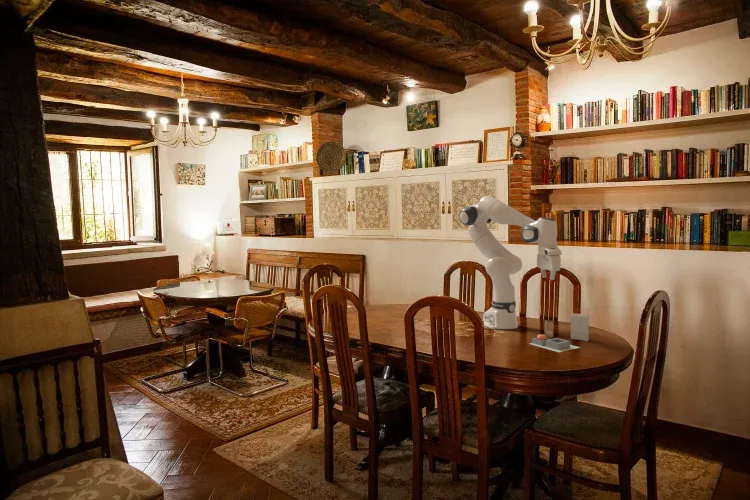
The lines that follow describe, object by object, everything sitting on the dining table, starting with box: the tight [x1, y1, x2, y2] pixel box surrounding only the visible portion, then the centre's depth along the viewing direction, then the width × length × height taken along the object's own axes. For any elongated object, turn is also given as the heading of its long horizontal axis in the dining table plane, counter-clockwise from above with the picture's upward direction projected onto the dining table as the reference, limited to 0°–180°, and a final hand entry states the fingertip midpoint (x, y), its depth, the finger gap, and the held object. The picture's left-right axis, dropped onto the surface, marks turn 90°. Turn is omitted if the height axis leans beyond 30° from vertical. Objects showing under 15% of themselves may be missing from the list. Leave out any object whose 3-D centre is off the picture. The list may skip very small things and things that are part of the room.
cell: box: [544, 319, 554, 339], centre depth 257 cm, size 4×4×10 cm
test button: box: [536, 333, 547, 341], centre depth 244 cm, size 4×4×2 cm
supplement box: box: [570, 313, 590, 342], centre depth 253 cm, size 7×7×13 cm
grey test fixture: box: [528, 337, 581, 353], centre depth 240 cm, size 18×14×4 cm
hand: (548, 278), depth 255 cm, fingers open, 8 cm apart
